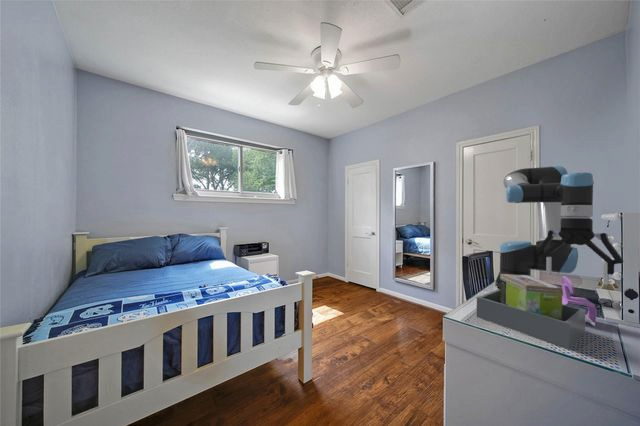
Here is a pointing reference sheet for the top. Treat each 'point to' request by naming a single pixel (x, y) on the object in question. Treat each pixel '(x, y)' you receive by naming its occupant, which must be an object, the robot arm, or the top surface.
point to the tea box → (531, 295)
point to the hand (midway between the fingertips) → (575, 279)
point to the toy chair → (576, 298)
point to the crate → (533, 320)
